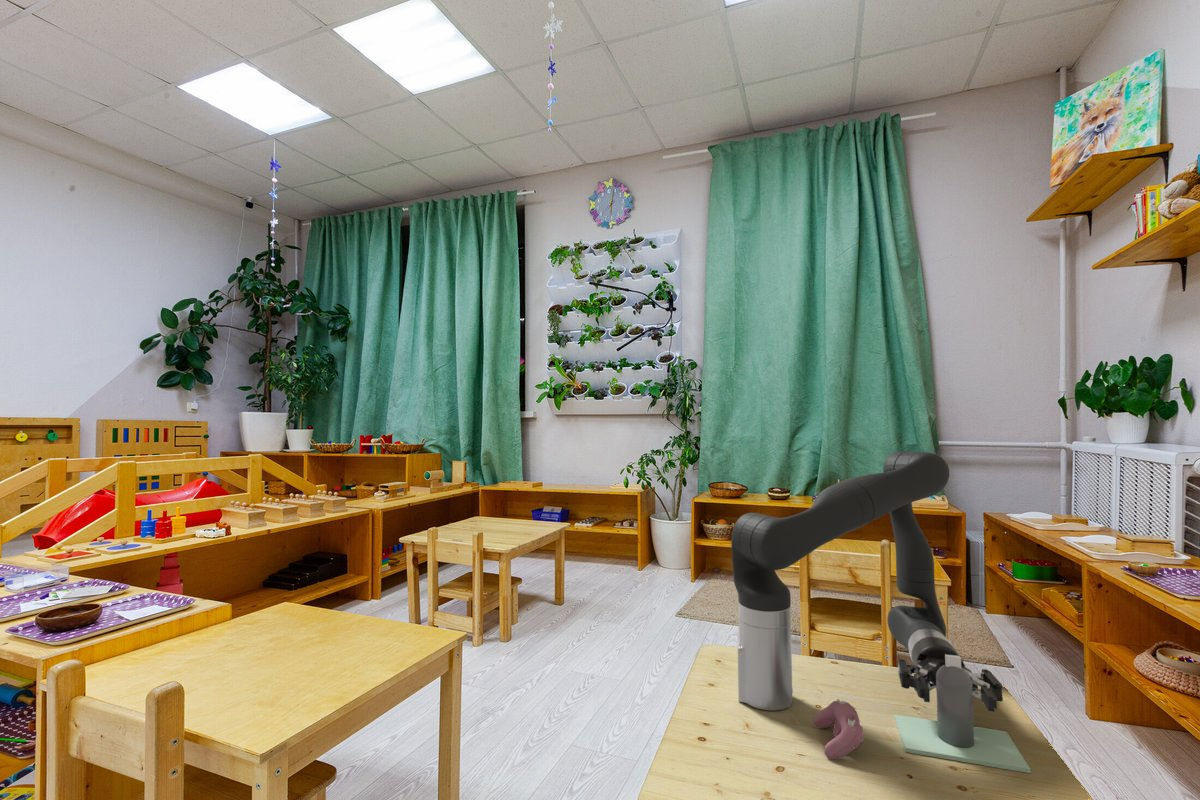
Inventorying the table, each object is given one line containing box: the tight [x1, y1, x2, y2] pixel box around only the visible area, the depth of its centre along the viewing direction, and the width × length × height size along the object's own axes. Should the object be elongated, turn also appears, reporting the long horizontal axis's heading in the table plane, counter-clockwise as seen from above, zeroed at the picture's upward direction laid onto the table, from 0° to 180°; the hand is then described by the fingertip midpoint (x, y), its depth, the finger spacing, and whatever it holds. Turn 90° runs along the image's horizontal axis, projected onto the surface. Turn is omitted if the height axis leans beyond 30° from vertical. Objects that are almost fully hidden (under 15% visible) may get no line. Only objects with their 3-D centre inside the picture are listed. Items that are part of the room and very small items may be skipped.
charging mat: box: [894, 714, 1032, 774], centre depth 87 cm, size 16×10×1 cm, turn 70°
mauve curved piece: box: [812, 698, 864, 760], centre depth 88 cm, size 10×5×7 cm, turn 170°
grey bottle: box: [935, 654, 975, 748], centre depth 88 cm, size 5×5×13 cm
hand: (958, 700), depth 86 cm, fingers open, 8 cm apart
